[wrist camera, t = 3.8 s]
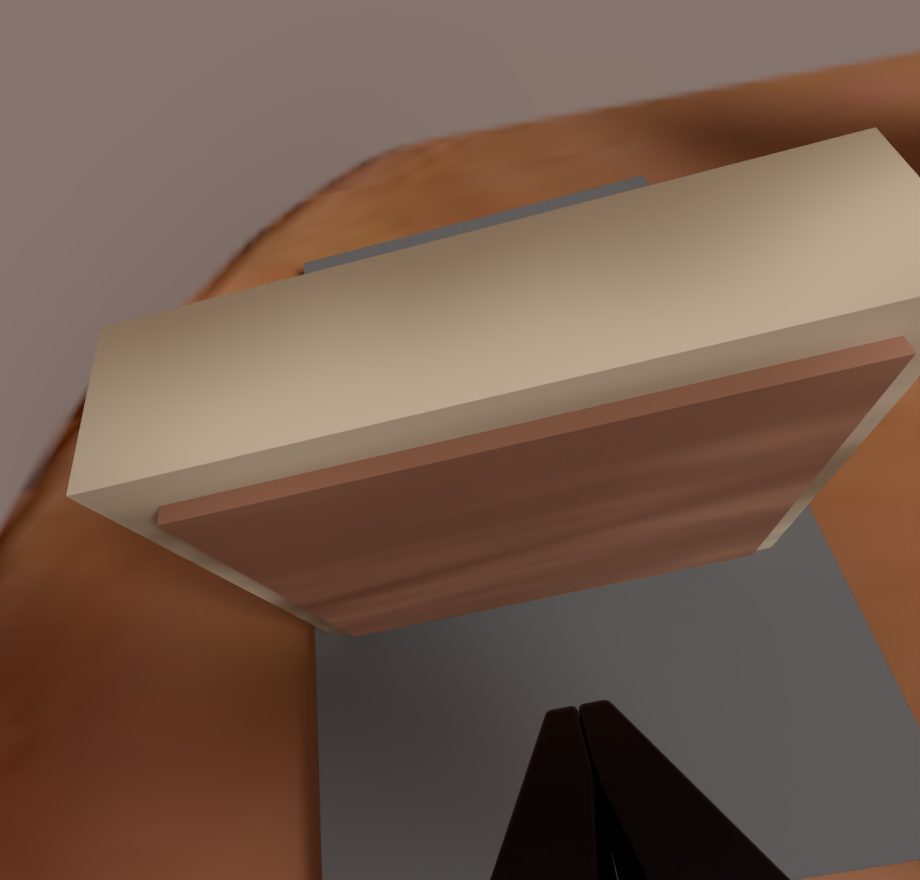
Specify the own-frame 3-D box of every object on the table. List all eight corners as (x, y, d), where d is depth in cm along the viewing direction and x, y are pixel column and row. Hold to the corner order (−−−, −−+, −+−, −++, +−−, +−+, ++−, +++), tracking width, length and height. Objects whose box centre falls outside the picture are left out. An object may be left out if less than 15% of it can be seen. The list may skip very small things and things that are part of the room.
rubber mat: (963, 846, 12) (980, 850, 12) (334, 948, 14) (324, 955, 13) (642, 188, 24) (643, 175, 23) (309, 273, 25) (303, 263, 24)
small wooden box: (775, 558, 15) (1022, 294, 7) (336, 648, 16) (61, 516, 8) (726, 450, 17) (875, 127, 8) (331, 536, 18) (100, 326, 9)
